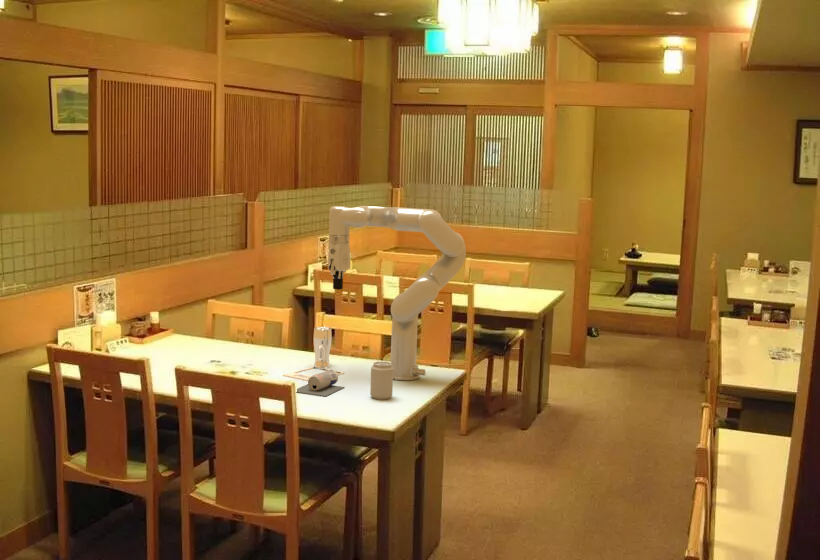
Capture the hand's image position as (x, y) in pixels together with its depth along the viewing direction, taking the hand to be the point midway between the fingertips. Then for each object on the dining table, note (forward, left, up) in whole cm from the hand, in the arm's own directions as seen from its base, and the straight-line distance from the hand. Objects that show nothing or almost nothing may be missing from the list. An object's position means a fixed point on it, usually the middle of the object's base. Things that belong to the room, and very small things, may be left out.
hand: (337, 289), depth 338 cm
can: (-29, +23, -32) cm, 49 cm away
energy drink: (-7, +16, -29) cm, 34 cm away
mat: (-6, +25, -32) cm, 41 cm away
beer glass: (+10, -8, -32) cm, 35 cm away
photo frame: (+6, +6, -33) cm, 34 cm away
